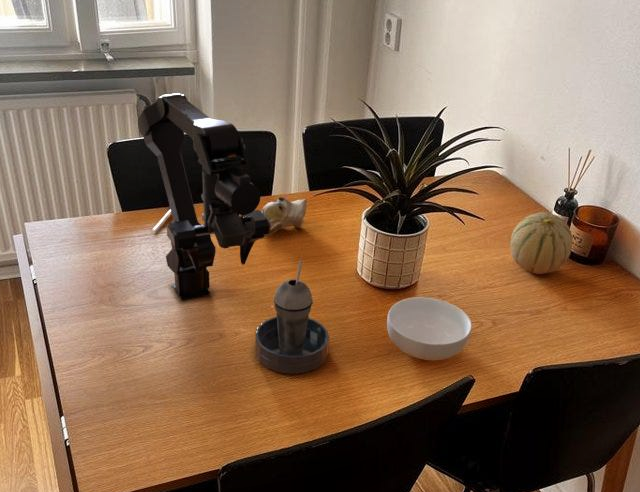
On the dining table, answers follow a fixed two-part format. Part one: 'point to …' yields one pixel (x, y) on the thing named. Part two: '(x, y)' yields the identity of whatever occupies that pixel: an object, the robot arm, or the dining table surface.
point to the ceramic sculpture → (284, 213)
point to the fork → (162, 220)
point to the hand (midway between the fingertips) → (220, 267)
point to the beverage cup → (292, 314)
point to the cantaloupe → (541, 243)
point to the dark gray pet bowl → (274, 360)
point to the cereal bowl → (428, 328)
